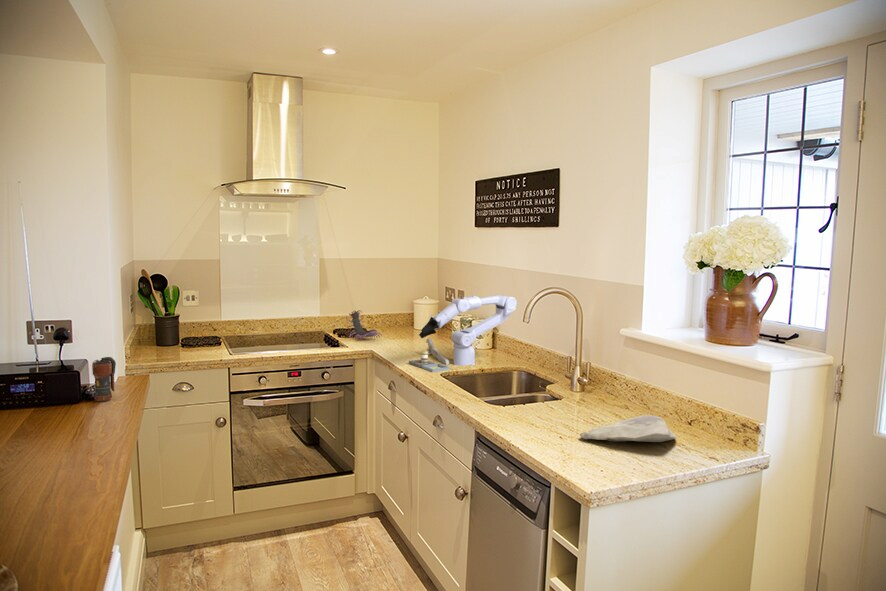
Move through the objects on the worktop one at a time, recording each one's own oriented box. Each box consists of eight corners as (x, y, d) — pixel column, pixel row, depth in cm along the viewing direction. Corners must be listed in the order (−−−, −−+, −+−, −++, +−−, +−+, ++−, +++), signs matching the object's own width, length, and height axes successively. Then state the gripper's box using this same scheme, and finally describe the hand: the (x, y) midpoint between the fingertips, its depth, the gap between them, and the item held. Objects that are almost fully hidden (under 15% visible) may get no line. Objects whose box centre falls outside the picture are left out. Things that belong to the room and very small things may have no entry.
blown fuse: (425, 364, 277) (425, 350, 276) (429, 365, 274) (429, 351, 274) (419, 365, 275) (419, 351, 275) (423, 366, 273) (423, 352, 272)
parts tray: (438, 367, 275) (438, 363, 275) (449, 371, 268) (449, 367, 267) (421, 369, 270) (421, 365, 270) (432, 373, 263) (432, 369, 262)
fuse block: (423, 363, 283) (423, 358, 283) (435, 367, 275) (435, 363, 274) (408, 365, 279) (408, 360, 278) (420, 369, 270) (420, 365, 270)
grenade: (120, 398, 215) (119, 357, 214) (99, 403, 209) (97, 361, 207) (111, 396, 218) (109, 355, 217) (89, 401, 212) (87, 358, 210)
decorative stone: (694, 424, 173) (592, 433, 171) (696, 448, 173) (594, 458, 171) (654, 409, 201) (565, 417, 199) (656, 429, 201) (567, 438, 199)
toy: (361, 331, 357) (363, 307, 353) (381, 348, 337) (385, 322, 333) (341, 333, 350) (344, 308, 346) (361, 350, 330) (364, 324, 326)
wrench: (445, 372, 278) (425, 352, 306) (448, 372, 279) (428, 352, 306) (446, 356, 277) (426, 337, 304) (450, 355, 277) (429, 337, 305)
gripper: (436, 314, 281) (413, 331, 276) (441, 305, 267) (417, 322, 263) (446, 326, 280) (423, 343, 275) (451, 317, 266) (428, 335, 262)
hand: (421, 334), depth 269 cm, fingers open, 7 cm apart
